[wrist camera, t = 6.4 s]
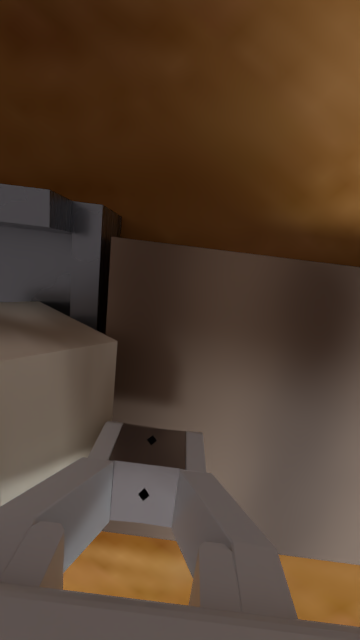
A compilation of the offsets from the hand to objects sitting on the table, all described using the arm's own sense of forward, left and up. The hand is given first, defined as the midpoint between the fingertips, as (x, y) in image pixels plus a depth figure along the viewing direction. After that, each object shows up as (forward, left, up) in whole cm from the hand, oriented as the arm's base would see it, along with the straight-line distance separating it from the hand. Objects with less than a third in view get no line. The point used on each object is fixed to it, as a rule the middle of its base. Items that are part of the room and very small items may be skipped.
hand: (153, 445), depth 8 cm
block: (+4, 0, -2) cm, 4 cm away
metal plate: (-6, 0, -5) cm, 7 cm away
